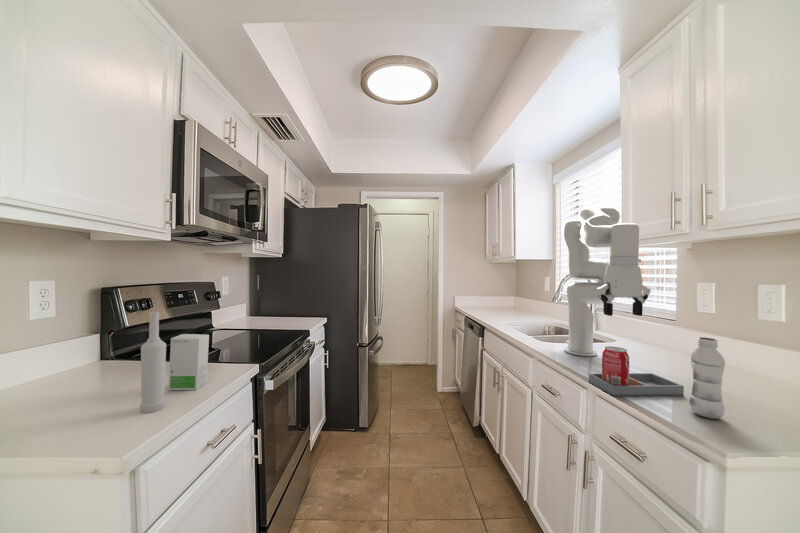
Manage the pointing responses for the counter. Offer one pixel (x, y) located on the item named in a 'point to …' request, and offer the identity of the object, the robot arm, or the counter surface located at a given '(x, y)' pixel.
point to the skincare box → (188, 362)
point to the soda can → (615, 366)
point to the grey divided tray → (639, 386)
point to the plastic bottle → (707, 379)
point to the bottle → (153, 368)
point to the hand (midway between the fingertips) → (622, 315)
